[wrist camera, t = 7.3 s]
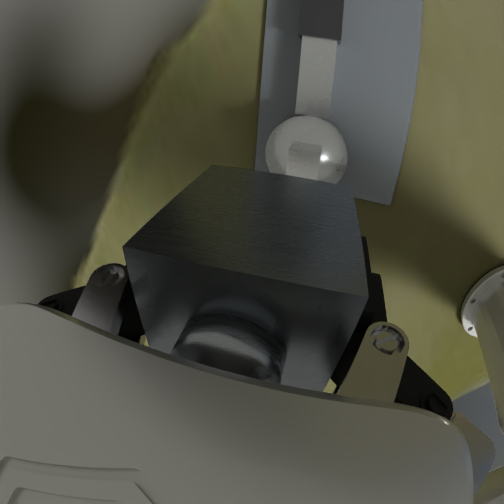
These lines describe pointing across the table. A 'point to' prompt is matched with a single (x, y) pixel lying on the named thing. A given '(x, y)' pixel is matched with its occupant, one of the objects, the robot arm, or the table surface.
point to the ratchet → (312, 102)
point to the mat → (351, 86)
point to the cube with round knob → (252, 275)
